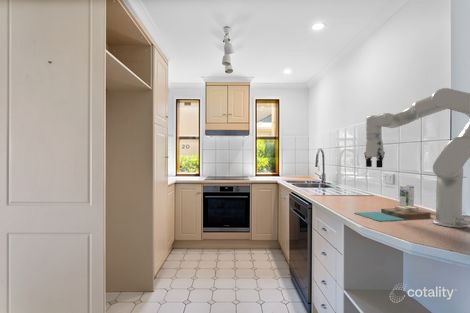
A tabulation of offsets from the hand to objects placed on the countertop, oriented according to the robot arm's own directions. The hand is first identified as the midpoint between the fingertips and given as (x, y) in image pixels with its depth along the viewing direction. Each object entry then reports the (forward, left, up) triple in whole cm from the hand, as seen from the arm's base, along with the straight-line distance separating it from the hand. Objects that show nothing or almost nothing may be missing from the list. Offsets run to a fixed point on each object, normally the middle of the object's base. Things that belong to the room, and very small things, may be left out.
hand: (374, 167), depth 148 cm
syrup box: (+7, -30, -26) cm, 41 cm away
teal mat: (-9, +5, -26) cm, 28 cm away
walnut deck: (-9, -12, -26) cm, 30 cm away
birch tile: (-9, -13, -24) cm, 28 cm away
